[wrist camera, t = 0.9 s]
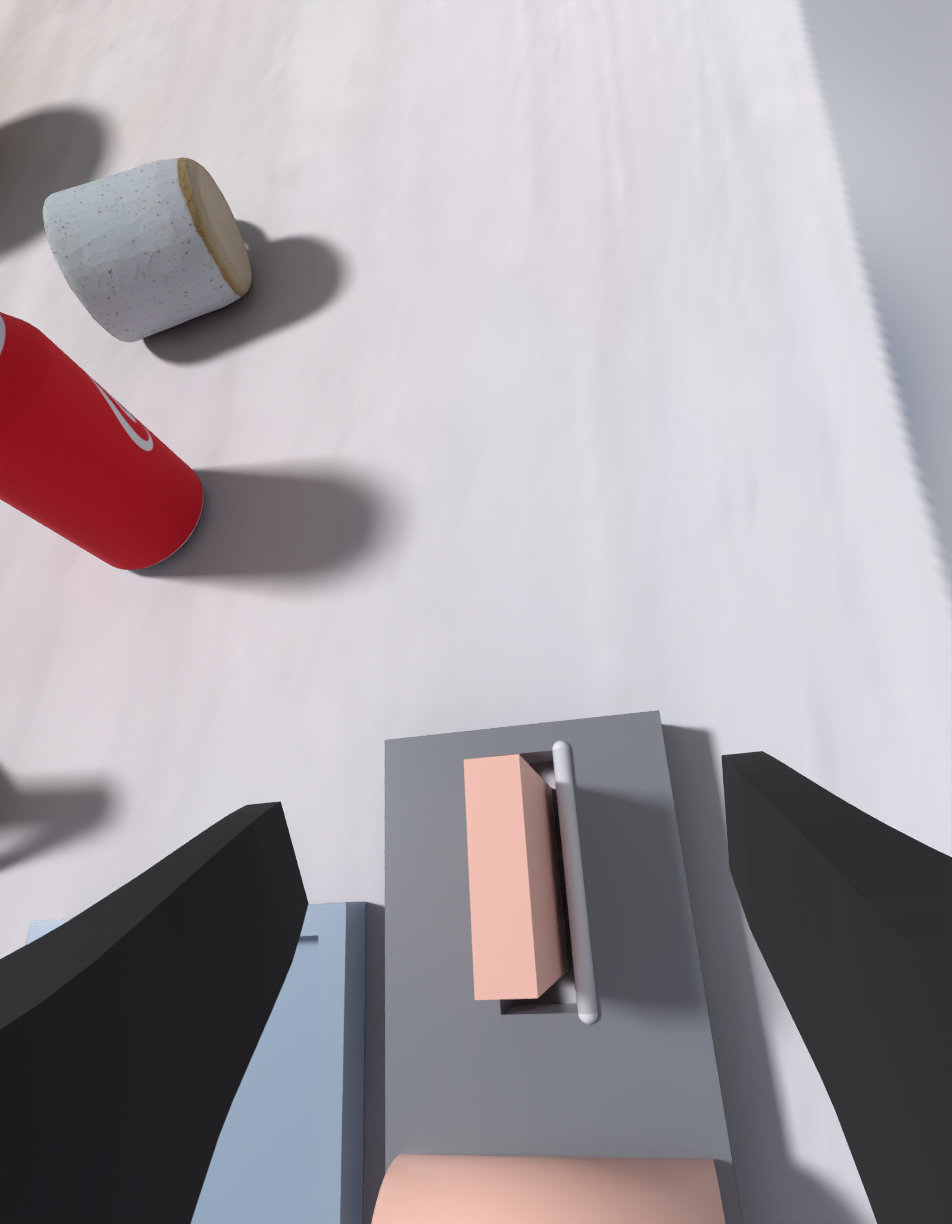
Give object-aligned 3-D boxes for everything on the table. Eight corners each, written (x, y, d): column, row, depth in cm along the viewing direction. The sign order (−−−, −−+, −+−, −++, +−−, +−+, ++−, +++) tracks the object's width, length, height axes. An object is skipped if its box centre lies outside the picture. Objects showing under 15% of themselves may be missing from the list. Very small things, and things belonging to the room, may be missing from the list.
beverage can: (196, 449, 36) (2, 260, 25) (226, 538, 33) (23, 369, 23) (94, 505, 36) (-142, 341, 26) (115, 598, 34) (-138, 459, 23)
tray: (361, 1375, 20) (336, 1417, 19) (-5, 1345, 23) (-55, 1380, 21) (365, 901, 25) (346, 902, 24) (66, 919, 28) (30, 921, 26)
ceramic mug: (268, 320, 39) (184, 193, 32) (139, 371, 39) (31, 259, 33) (249, 206, 43) (173, 74, 36) (135, 255, 44) (39, 134, 37)
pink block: (568, 969, 23) (537, 997, 17) (522, 971, 23) (474, 1000, 17) (551, 788, 25) (518, 754, 19) (509, 792, 26) (463, 759, 19)
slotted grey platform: (764, 1383, 18) (801, 1543, 14) (409, 1356, 20) (339, 1489, 16) (658, 723, 25) (660, 686, 21) (402, 750, 27) (353, 722, 23)
